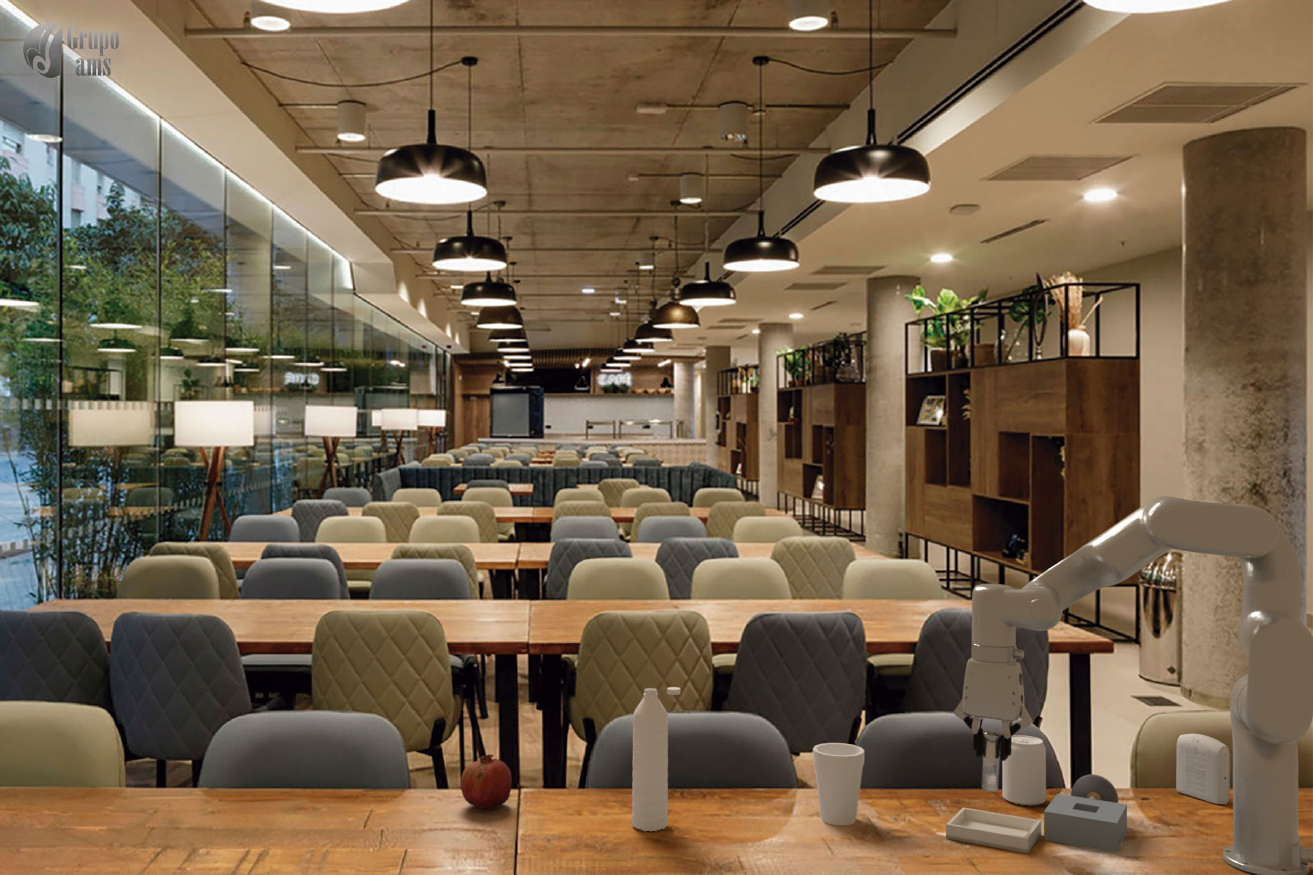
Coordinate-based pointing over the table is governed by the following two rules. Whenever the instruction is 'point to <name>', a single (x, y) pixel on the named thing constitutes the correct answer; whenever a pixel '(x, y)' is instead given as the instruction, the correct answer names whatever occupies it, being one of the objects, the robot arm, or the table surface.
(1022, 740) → the beverage can
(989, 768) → the lock pin
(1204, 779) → the photo printer
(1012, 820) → the tray
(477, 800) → the fruit
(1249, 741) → the robot arm
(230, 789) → the table surface
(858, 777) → the foam cup
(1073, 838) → the tensioner block
